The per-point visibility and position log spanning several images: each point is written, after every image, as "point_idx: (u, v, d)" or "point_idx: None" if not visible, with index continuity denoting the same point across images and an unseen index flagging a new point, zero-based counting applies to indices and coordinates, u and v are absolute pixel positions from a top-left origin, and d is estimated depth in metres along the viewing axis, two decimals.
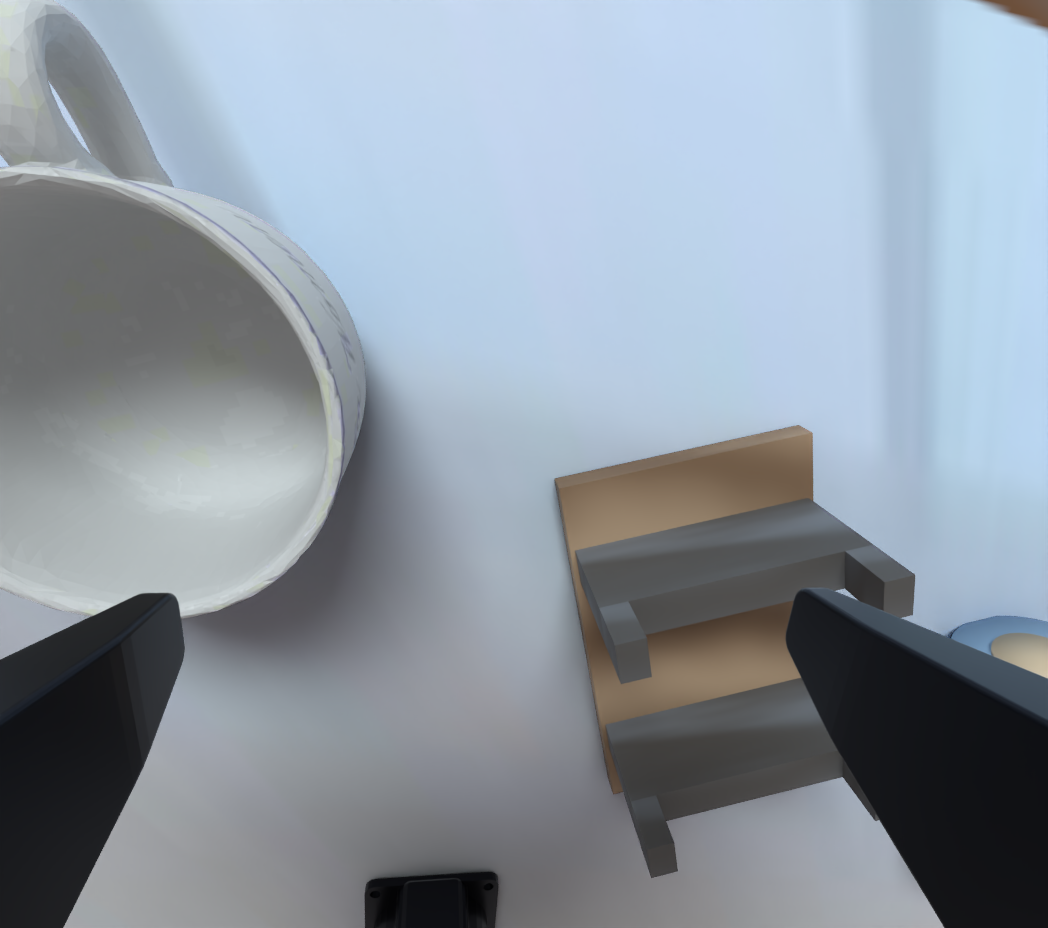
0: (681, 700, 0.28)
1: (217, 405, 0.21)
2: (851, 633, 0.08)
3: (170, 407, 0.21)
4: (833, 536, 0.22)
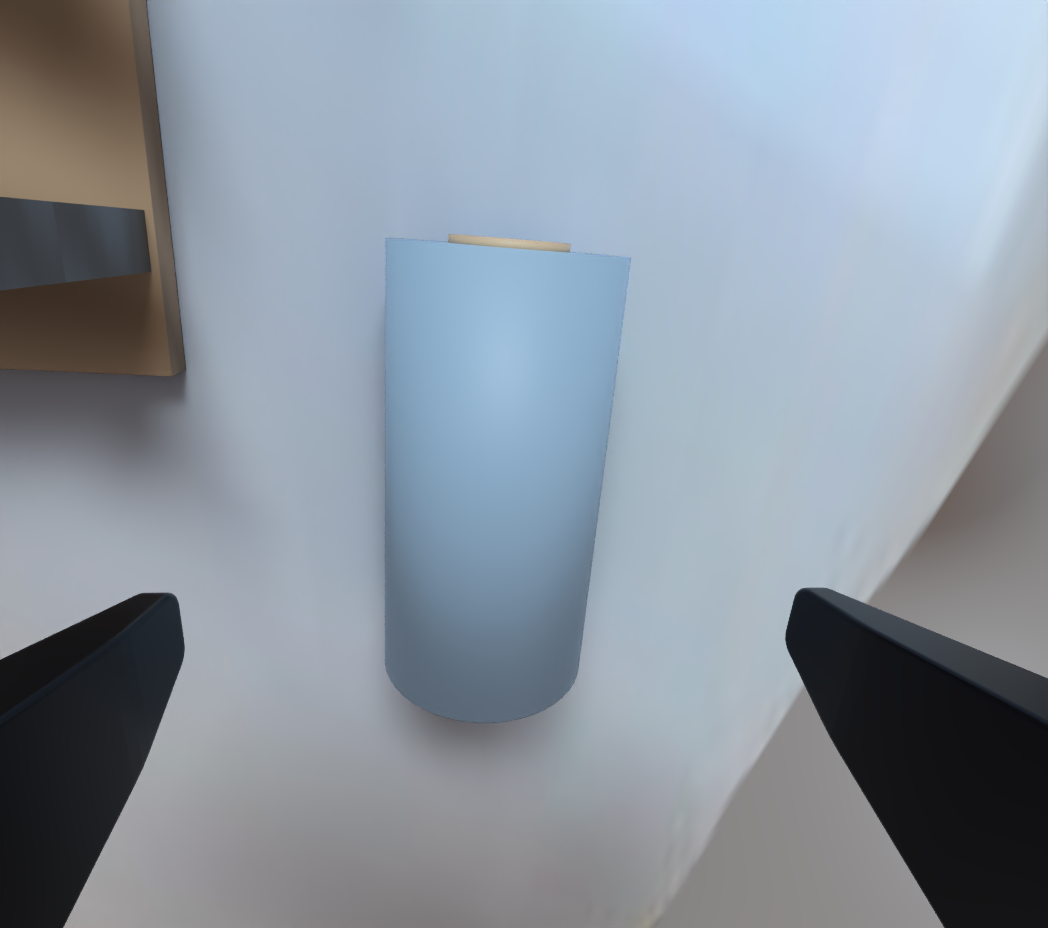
0: None
1: None
2: (851, 633, 0.08)
3: None
4: None
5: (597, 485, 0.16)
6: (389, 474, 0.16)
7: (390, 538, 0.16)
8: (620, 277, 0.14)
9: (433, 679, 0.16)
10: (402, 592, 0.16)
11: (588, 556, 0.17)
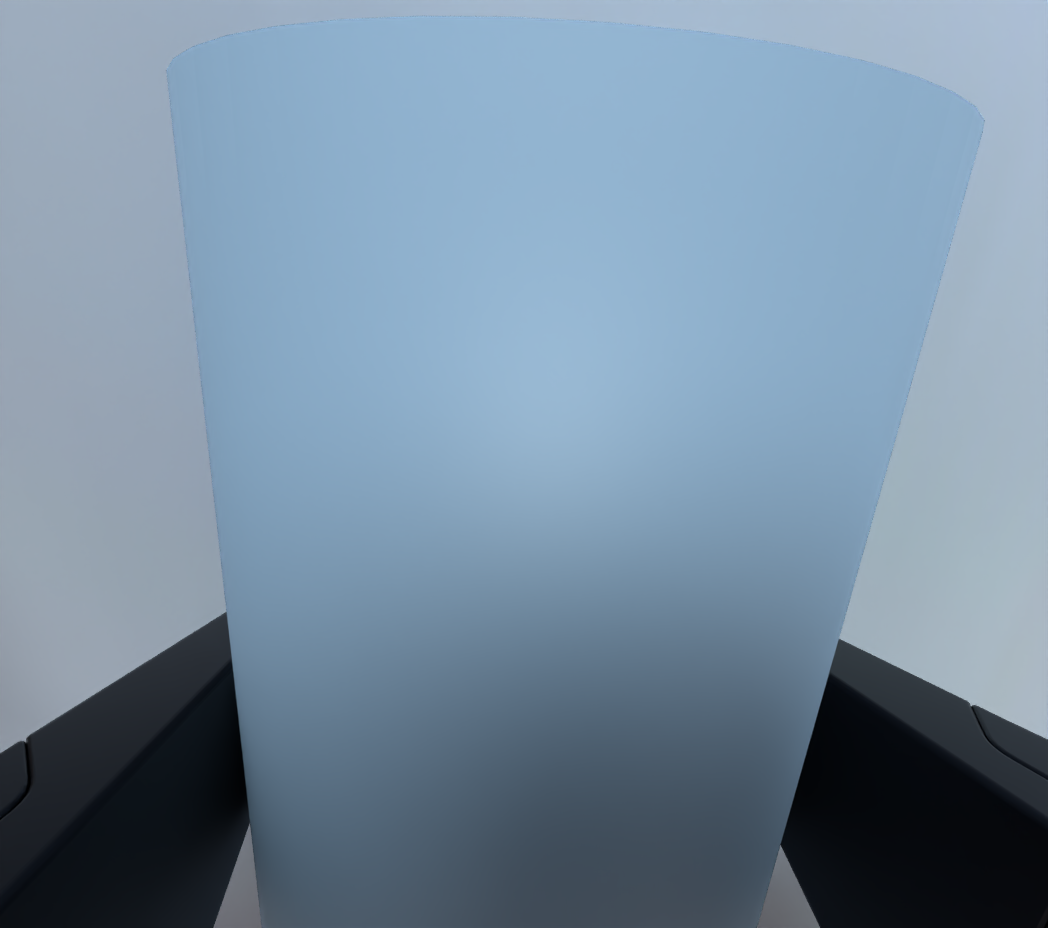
0: None
1: None
2: None
3: None
4: None
5: None
6: None
7: (259, 901, 0.06)
8: None
9: None
10: None
11: None
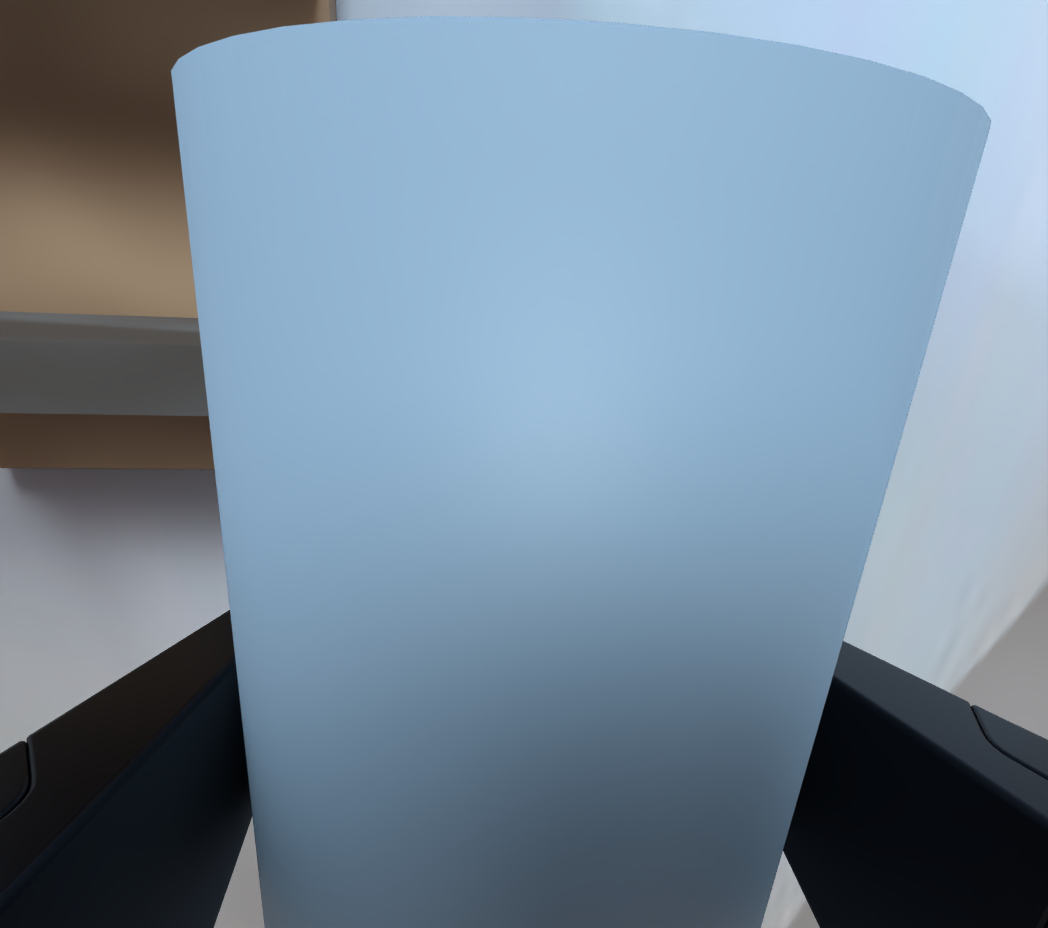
0: (93, 301, 0.16)
1: None
2: None
3: None
4: None
5: None
6: None
7: (262, 902, 0.06)
8: None
9: None
10: None
11: None
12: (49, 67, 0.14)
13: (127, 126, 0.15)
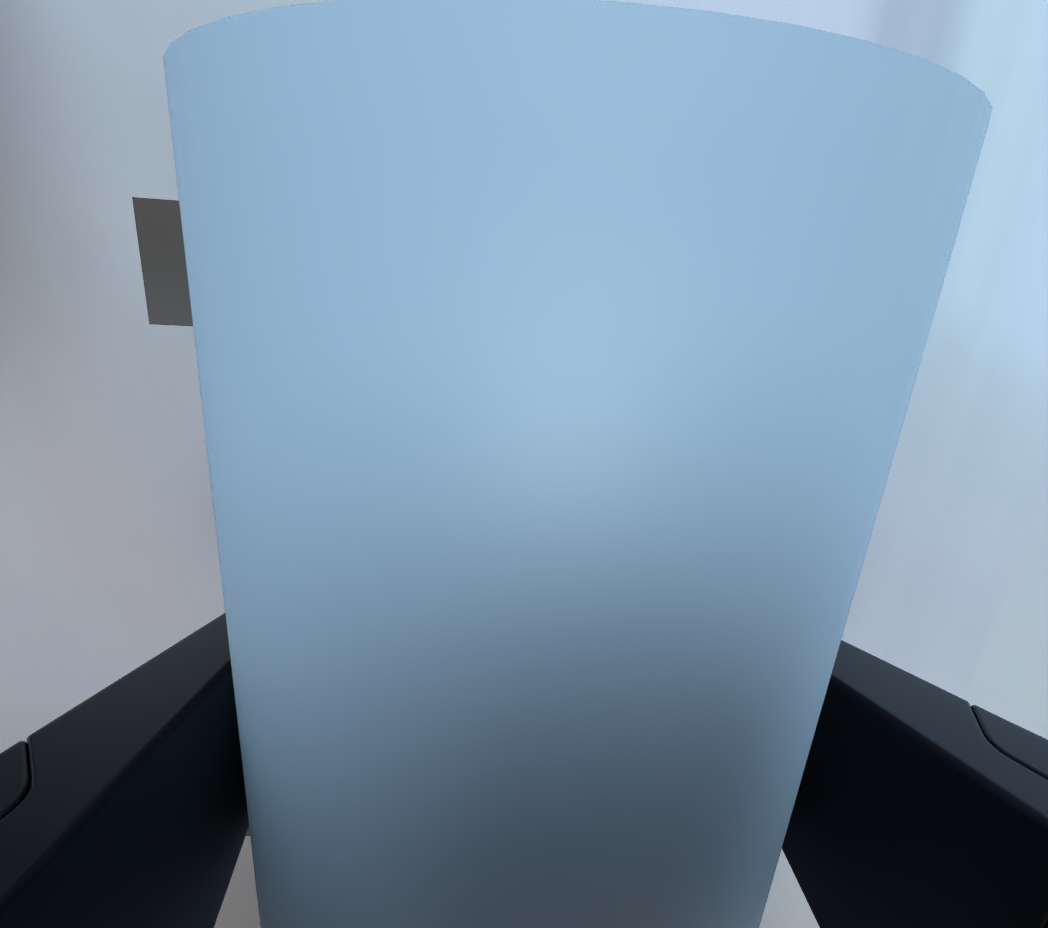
0: None
1: None
2: None
3: None
4: None
5: None
6: None
7: None
8: None
9: None
10: None
11: None
12: None
13: None
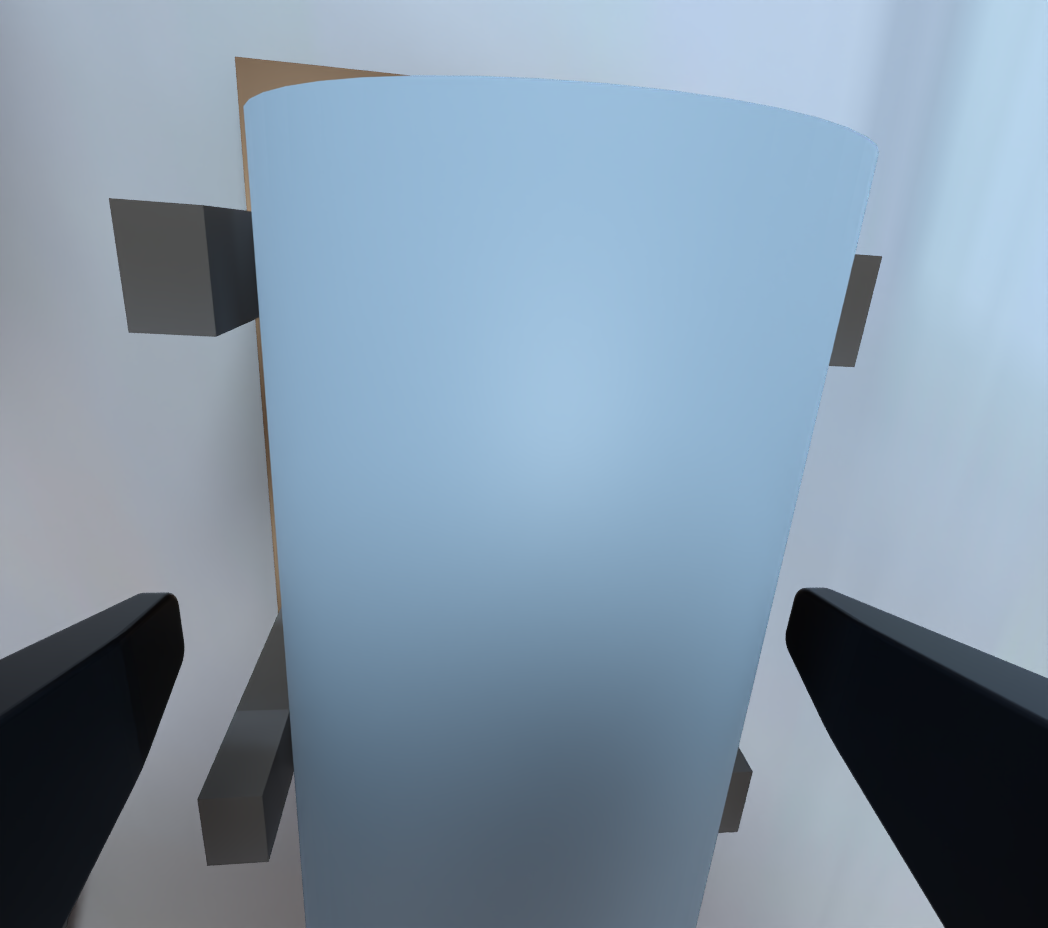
0: None
1: None
2: (851, 633, 0.08)
3: None
4: None
5: None
6: (289, 679, 0.07)
7: (300, 806, 0.07)
8: (864, 209, 0.05)
9: None
10: None
11: None
12: None
13: None
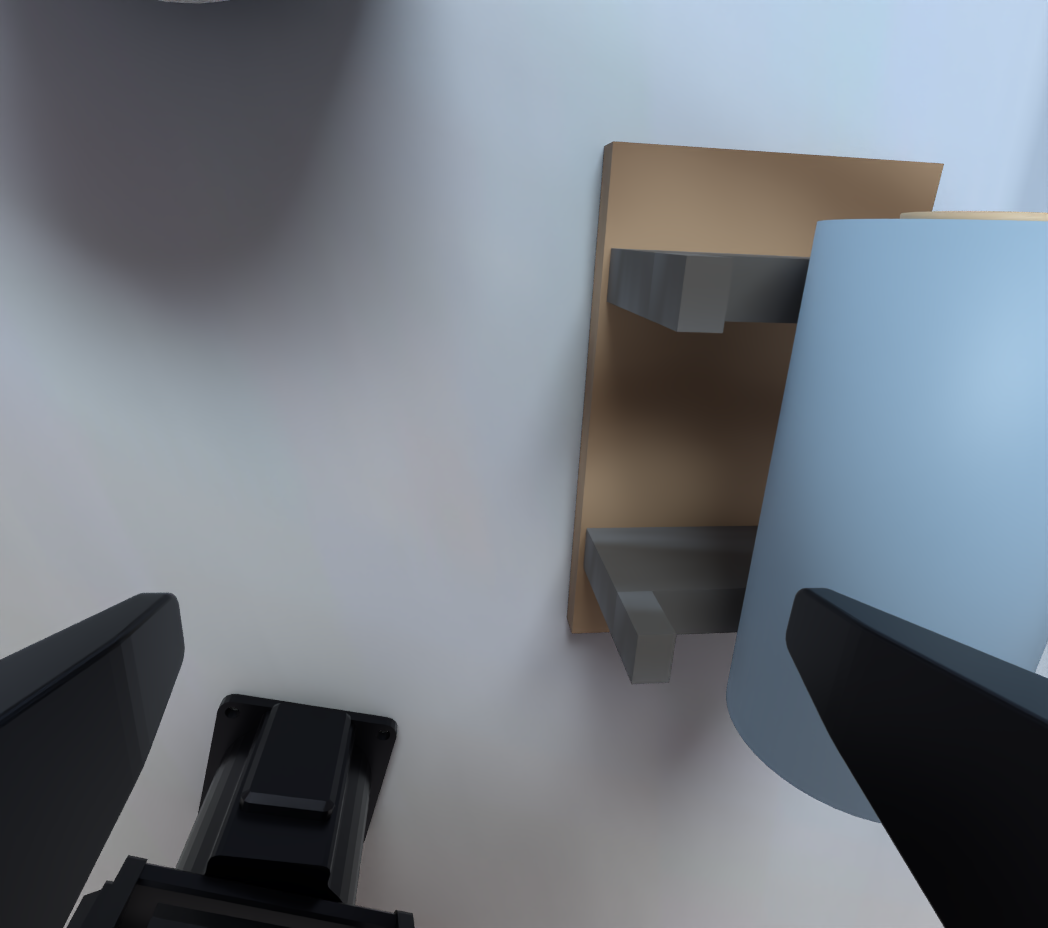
0: (687, 518, 0.21)
1: None
2: (851, 633, 0.08)
3: None
4: None
5: None
6: (852, 537, 0.12)
7: None
8: None
9: None
10: None
11: None
12: (709, 370, 0.20)
13: (748, 404, 0.20)
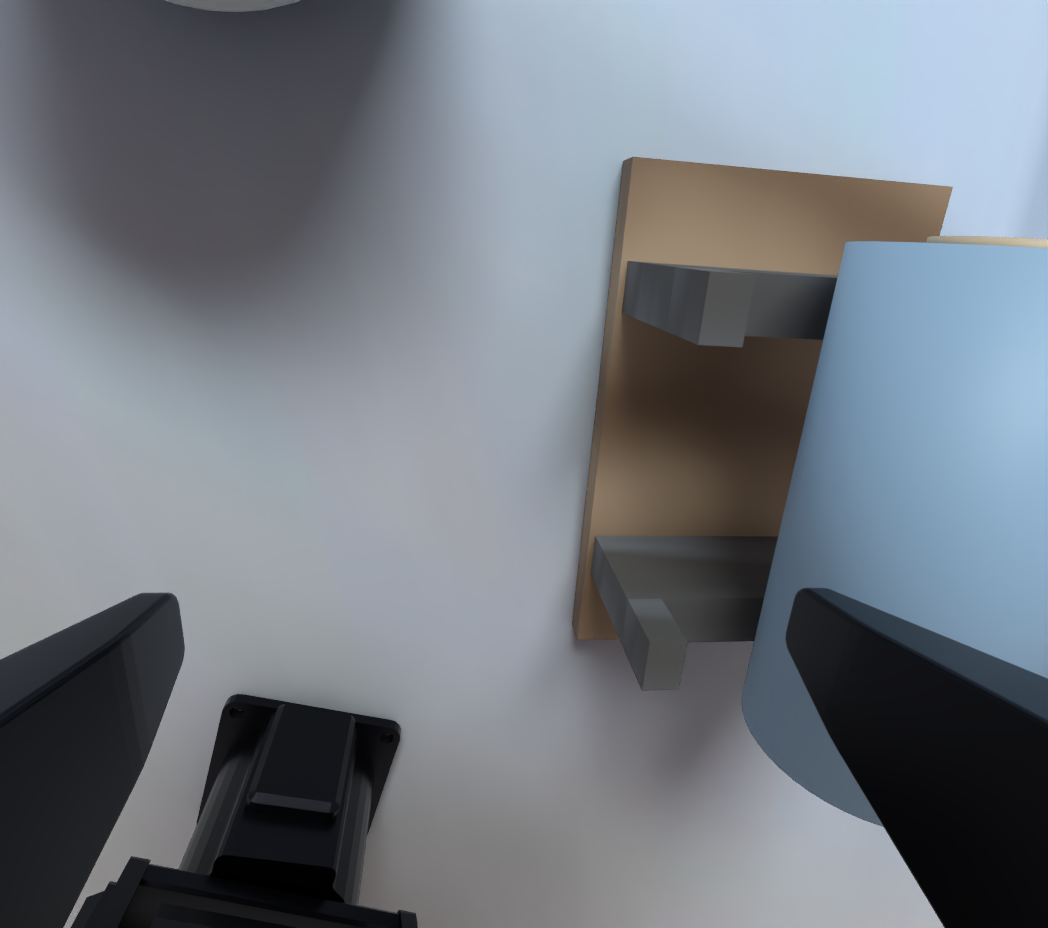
0: (694, 527, 0.22)
1: None
2: (851, 633, 0.08)
3: None
4: None
5: None
6: (890, 554, 0.12)
7: None
8: None
9: None
10: None
11: None
12: (720, 382, 0.20)
13: (757, 416, 0.20)
